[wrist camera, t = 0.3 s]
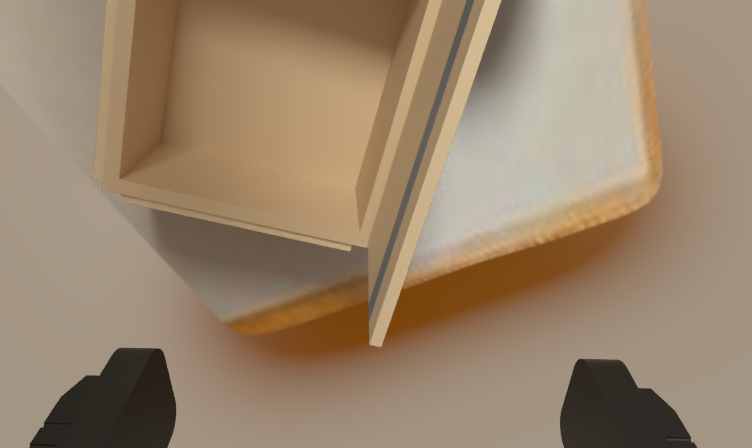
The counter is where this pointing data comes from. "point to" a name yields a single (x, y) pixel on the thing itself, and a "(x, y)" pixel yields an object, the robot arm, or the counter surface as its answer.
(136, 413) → the robot arm
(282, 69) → the carton
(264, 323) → the counter surface
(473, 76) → the flap
